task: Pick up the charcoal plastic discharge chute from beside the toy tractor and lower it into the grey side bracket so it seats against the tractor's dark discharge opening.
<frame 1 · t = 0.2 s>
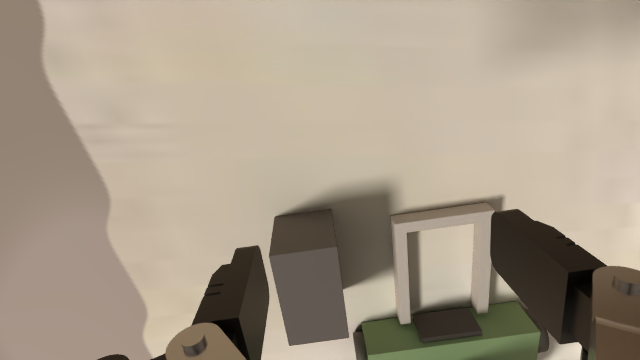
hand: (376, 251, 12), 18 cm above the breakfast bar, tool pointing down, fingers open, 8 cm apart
toy tractor: (438, 311, 37), on the breakfast bar
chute: (310, 254, 33), on the breakfast bar
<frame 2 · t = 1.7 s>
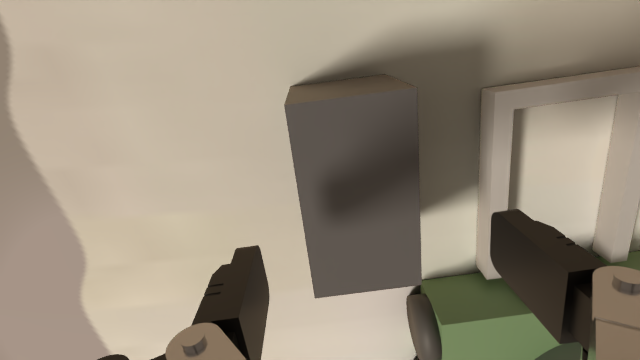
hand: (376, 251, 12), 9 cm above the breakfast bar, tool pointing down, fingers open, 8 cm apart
toy tractor: (540, 264, 24), on the breakfast bar
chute: (345, 160, 21), on the breakfast bar
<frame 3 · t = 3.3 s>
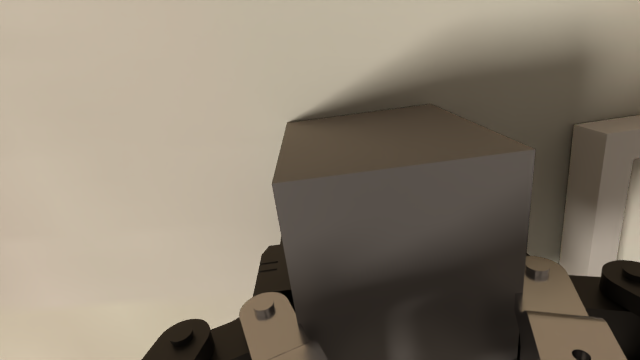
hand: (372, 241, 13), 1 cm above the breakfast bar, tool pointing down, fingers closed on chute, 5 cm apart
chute: (368, 228, 14), on the breakfast bar, touching gripper
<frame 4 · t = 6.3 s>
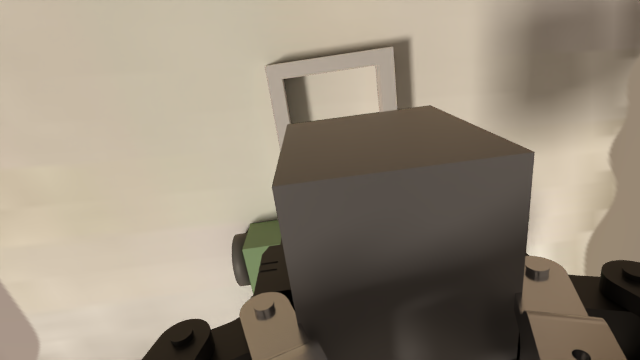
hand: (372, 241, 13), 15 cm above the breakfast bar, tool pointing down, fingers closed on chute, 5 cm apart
toy tractor: (346, 209, 29), on the breakfast bar
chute: (368, 229, 14), point 14 cm above the breakfast bar, touching gripper
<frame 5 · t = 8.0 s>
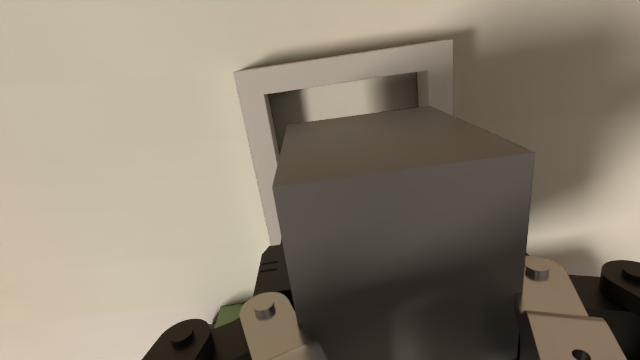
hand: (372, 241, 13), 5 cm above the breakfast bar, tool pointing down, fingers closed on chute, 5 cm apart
toy tractor: (365, 286, 19), on the breakfast bar
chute: (368, 229, 14), point 4 cm above the breakfast bar, touching gripper
when the fingers open (3 cm above the breakfast bar, at t = 9.4 s): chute drops 2 cm, resting in toy tractor.
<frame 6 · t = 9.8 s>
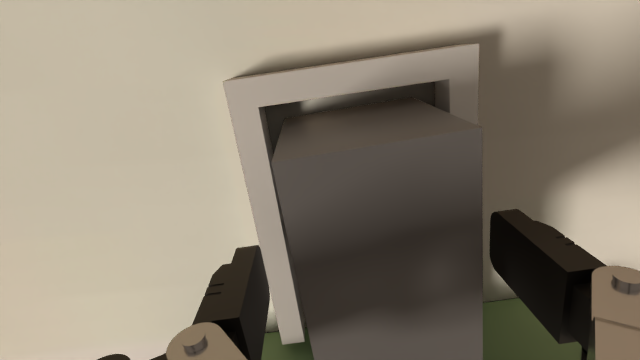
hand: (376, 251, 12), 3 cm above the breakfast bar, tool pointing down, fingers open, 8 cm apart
toy tractor: (373, 318, 17), on the breakfast bar
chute: (361, 209, 16), resting in toy tractor
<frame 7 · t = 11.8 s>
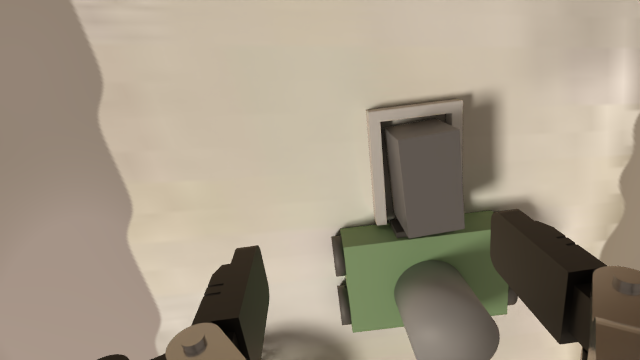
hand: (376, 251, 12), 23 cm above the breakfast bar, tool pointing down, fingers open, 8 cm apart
toy tractor: (415, 219, 38), on the breakfast bar
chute: (413, 166, 36), resting in toy tractor
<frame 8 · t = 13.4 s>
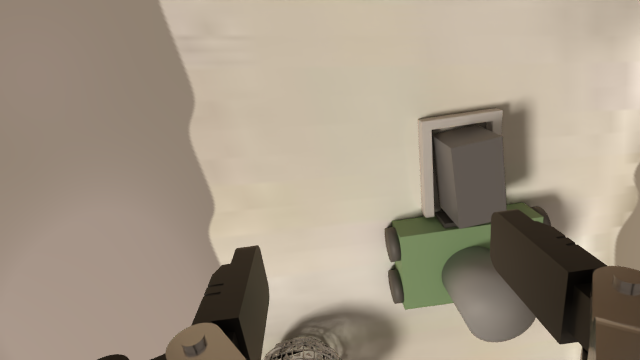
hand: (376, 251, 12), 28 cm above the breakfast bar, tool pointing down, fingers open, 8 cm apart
toy tractor: (457, 211, 43), on the breakfast bar
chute: (456, 166, 41), resting in toy tractor
pendant light: (302, 354, 50), on the breakfast bar
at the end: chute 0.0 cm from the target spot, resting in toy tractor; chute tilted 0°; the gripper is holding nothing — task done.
